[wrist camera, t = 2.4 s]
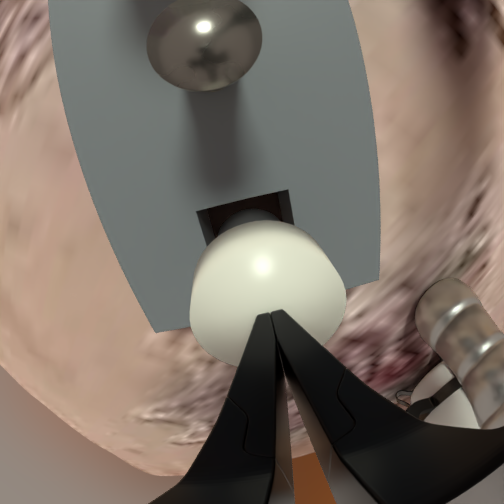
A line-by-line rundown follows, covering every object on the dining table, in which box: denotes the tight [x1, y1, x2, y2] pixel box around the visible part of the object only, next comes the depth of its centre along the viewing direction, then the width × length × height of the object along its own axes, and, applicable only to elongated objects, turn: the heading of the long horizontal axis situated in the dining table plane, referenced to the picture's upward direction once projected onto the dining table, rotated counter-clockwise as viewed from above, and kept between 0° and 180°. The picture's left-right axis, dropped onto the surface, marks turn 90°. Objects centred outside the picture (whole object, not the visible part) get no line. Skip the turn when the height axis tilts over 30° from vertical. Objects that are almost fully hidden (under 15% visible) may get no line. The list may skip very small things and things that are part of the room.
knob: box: [190, 209, 346, 367], centre depth 12 cm, size 5×5×6 cm
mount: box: [48, 0, 380, 333], centre depth 12 cm, size 14×26×4 cm, turn 12°
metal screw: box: [147, 0, 262, 92], centre depth 8 cm, size 3×3×5 cm
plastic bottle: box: [415, 278, 504, 429], centre depth 15 cm, size 6×7×20 cm
